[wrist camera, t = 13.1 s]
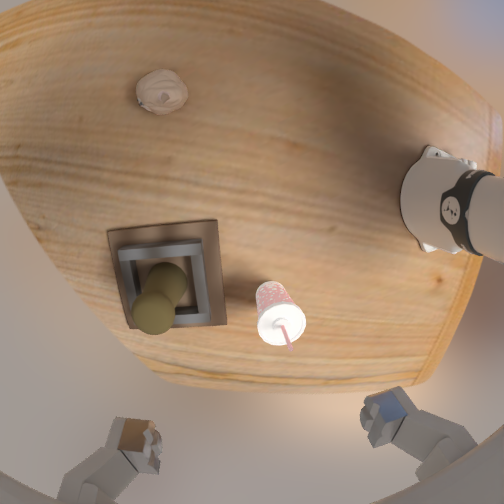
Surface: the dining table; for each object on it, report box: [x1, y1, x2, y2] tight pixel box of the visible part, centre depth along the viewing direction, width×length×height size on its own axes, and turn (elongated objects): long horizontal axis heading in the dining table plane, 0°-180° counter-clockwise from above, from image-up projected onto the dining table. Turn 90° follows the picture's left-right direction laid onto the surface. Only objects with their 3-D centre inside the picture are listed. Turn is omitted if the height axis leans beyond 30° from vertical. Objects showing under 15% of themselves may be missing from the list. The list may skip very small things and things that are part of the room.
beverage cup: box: [256, 281, 306, 351], centre depth 35 cm, size 6×6×14 cm
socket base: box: [108, 220, 227, 329], centre depth 37 cm, size 16×16×4 cm
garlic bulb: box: [136, 69, 188, 115], centre depth 28 cm, size 7×6×8 cm
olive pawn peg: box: [131, 262, 188, 335], centre depth 33 cm, size 6×6×11 cm
